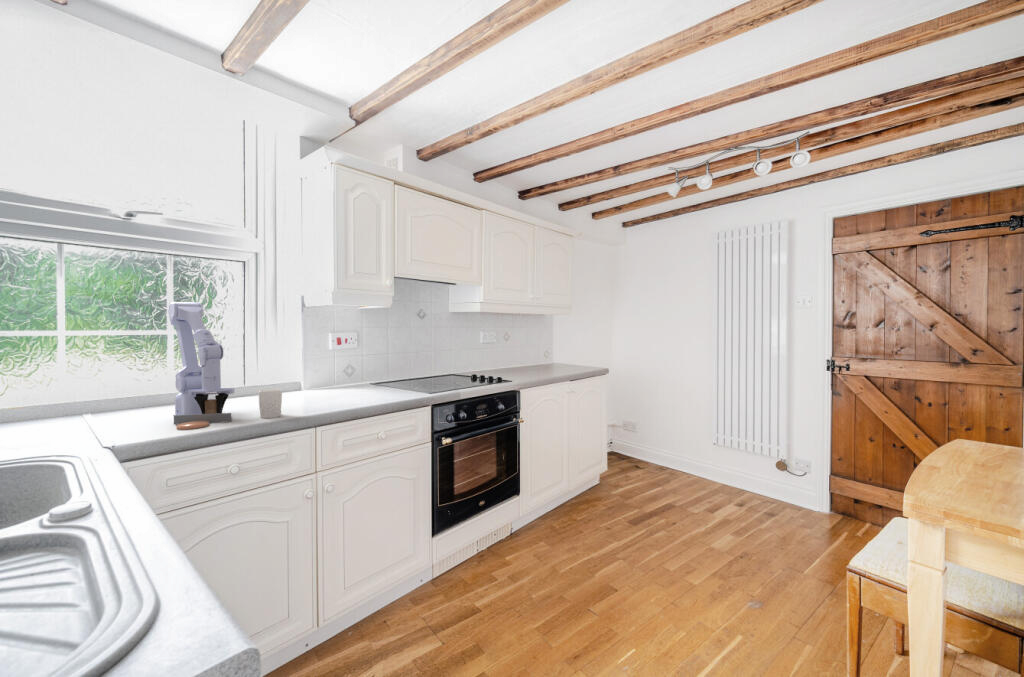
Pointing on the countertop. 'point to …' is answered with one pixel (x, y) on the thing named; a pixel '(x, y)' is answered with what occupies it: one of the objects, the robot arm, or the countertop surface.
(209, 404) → the walnut peg
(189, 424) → the terracotta coaster
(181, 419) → the smoky grey fence
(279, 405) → the white cup
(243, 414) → the countertop surface
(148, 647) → the countertop surface
